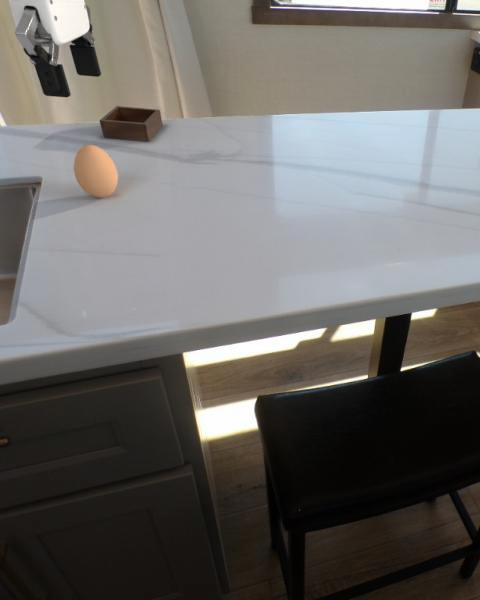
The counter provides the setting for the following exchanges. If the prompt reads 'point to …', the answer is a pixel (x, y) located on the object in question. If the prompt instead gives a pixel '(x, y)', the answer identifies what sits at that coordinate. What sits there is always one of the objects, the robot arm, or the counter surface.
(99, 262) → the counter surface
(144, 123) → the open wooden tray
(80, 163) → the egg
